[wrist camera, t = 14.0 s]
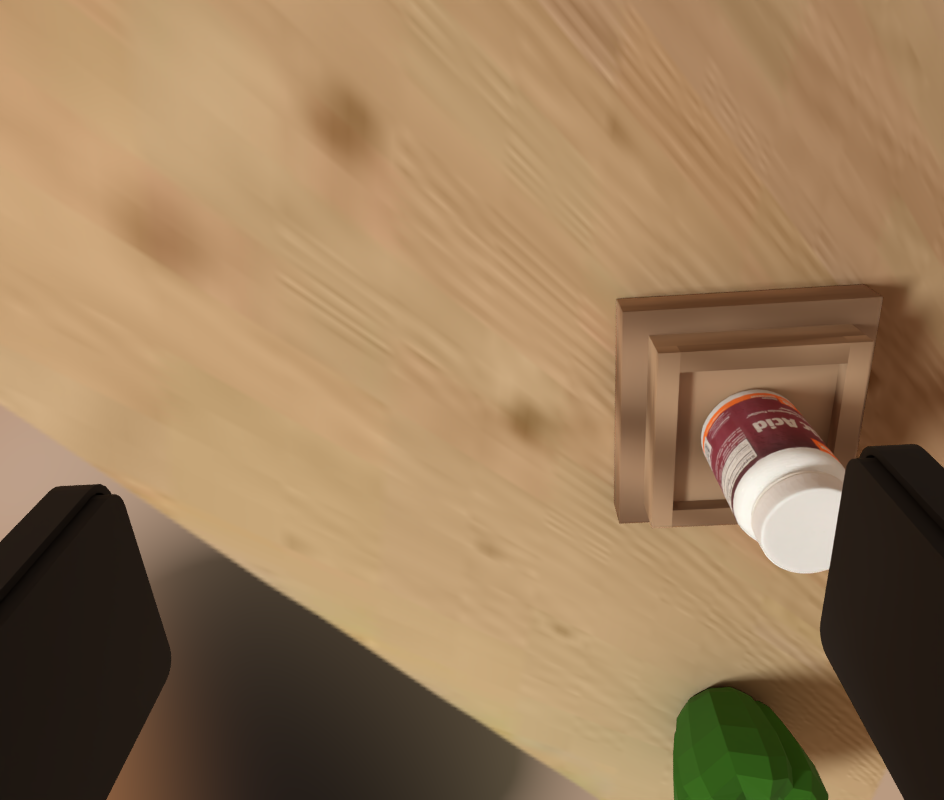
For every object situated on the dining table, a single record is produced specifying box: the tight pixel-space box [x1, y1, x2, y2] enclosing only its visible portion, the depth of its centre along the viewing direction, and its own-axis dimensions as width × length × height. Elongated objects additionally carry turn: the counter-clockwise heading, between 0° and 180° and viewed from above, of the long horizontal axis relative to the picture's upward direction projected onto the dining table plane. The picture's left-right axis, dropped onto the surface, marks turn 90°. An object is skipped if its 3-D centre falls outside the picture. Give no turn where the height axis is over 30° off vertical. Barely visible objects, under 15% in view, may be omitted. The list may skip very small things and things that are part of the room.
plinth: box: [614, 284, 883, 528], centre depth 38 cm, size 12×12×4 cm
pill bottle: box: [701, 389, 845, 573], centre depth 33 cm, size 5×5×8 cm
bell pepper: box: [673, 687, 828, 800], centre depth 45 cm, size 8×8×10 cm
